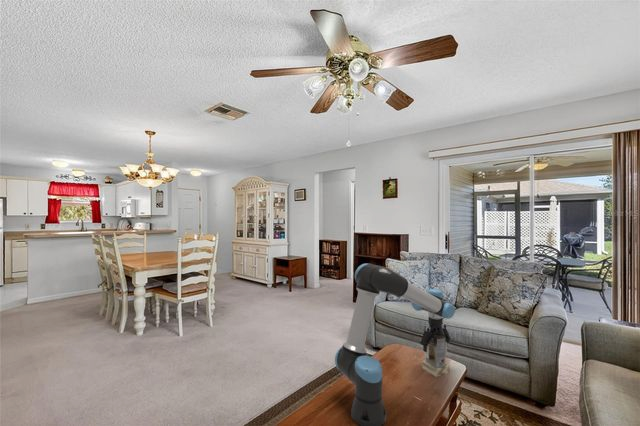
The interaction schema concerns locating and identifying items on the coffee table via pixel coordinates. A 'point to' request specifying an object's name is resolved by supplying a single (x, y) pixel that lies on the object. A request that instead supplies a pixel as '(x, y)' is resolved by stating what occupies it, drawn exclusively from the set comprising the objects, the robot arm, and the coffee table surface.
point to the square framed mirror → (435, 368)
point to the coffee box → (437, 350)
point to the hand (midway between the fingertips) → (435, 355)
